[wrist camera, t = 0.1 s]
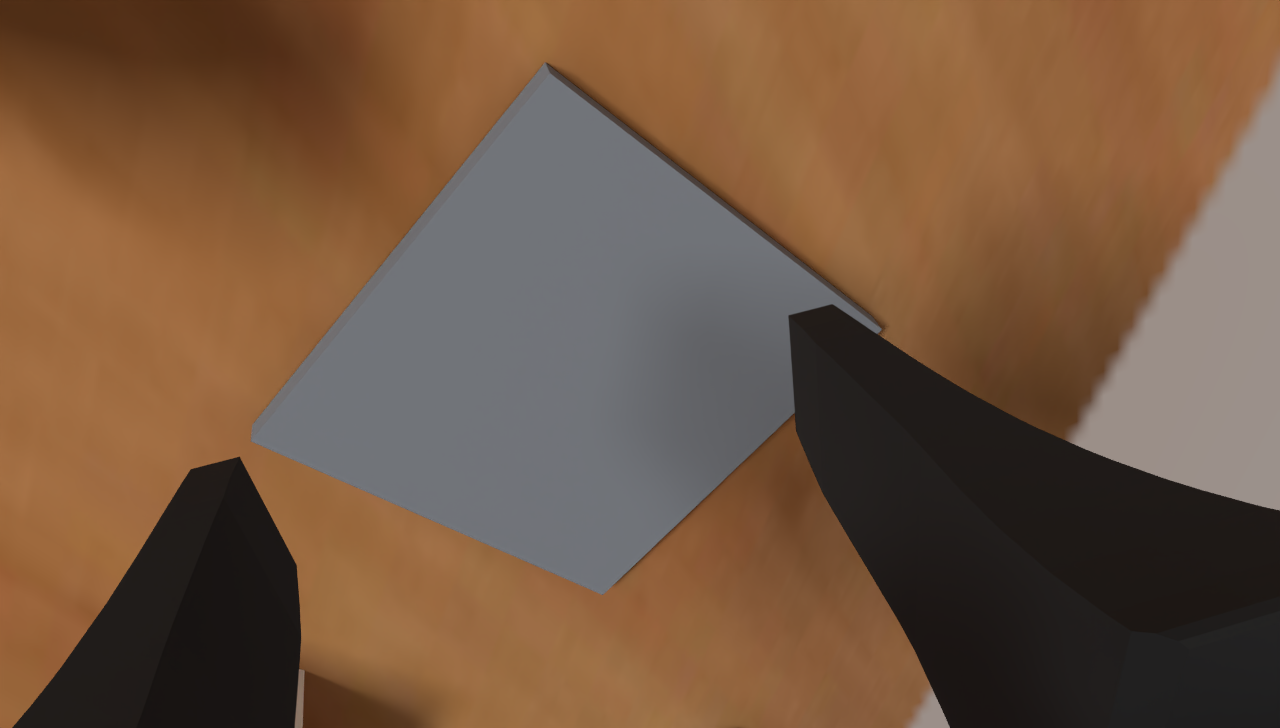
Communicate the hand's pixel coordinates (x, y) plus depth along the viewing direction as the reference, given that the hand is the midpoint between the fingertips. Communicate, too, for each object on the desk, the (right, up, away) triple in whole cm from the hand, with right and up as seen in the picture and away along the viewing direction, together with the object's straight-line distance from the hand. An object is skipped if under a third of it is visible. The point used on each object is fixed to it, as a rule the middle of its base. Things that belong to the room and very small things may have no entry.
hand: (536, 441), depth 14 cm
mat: (0, +1, +12) cm, 12 cm away
